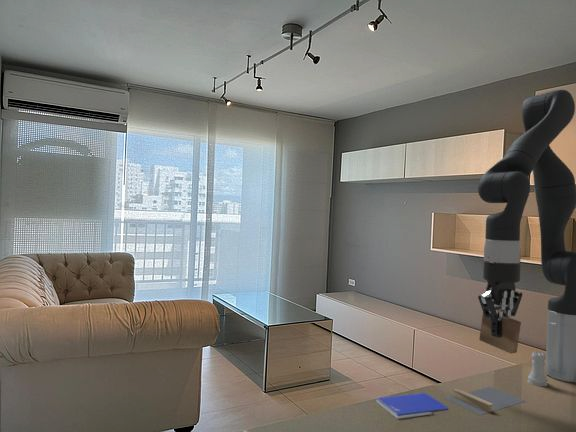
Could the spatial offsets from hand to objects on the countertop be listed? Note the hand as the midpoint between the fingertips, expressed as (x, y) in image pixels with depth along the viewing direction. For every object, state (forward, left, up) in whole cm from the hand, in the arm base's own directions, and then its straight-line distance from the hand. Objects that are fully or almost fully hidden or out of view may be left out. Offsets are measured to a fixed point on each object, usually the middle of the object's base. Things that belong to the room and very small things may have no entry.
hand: (499, 335), depth 99 cm
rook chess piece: (-18, -1, -15) cm, 23 cm away
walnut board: (0, -1, -3) cm, 3 cm away
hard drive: (+21, -6, -15) cm, 27 cm away
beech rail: (+9, 0, -14) cm, 17 cm away
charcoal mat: (+4, 0, -14) cm, 15 cm away
